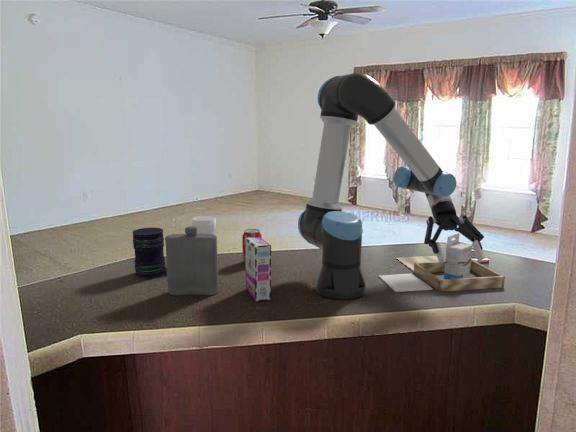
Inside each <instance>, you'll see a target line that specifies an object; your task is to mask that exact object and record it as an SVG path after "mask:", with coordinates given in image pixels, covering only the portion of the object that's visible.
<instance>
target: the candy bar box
mask: <svg viewBox="0 0 576 432" xmlns="http://www.w3.org/2000/svg"><path fill="white" fill-rule="evenodd" d="M245 257H246V263H245V290H246V291H247V292H248V294H249V295H250V296H251V298H252V299H253V300H254V302H265V301H270V300H272V245H271V244H270V243H268V242H267V241H266V240H265V239H263V237H262V238H261V237H251V238H245Z"/></svg>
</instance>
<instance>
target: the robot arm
mask: <svg viewBox="0 0 576 432" xmlns="http://www.w3.org/2000/svg"><path fill="white" fill-rule="evenodd" d="M317 104H318V106H319V108H320V115H319V116H320V117H319V118H320V120H321V121H322V122H323V128H322V134H321V135H322V136H321V142H320V147H319V154H318V161H317V165H316V173H315V179H314V186H313V192H312V197H311V199H309V200H308V201H307V202H306V205H305V209H304V210H303V211H302V212H301V214H300V215H299V217H298V220H297V221H298V222H297V228H298V232H299V234H300V235H301V237H302V239H304V240H305V242H307V243H308V244H310V245H311V246H312V245H313V246H314V247H317V248H318V249H321V266H320V269H319V272H318V276H317V278H316V280H315V292H316V293H317V294H318V295H320V296H322V297H325V298H328V299H331V300H332V299H333V300H354V299H359V298H362V297H363V296H364V295H365V294H366V291H367V284H366V281H365V277H364V274H363V271H362V265H361V264H362V246H363V245H362V243H363V241H362V240H363V233H364V232H363V231H364V230H363V229H364V228H363V221H362V219H361V217H359V216H358V215H357V214H354V213H352V212H346V211H344V210H343V207H342V206H341V204H340V203H339V201H340V195H341V189H342V183H343V178H344V172H345V171H344V170H345V165H346V160H347V154H348V148H349V142H350V137H351V136H350V135H351V130H352V127H353V126H355V125H356V124H357V123H358V117H359V116H360V117H361V118H363V119H364V120H365V121H366V123H367V124H368V125H372V126H373V125H374V127H375V128H376V129H377V130H378V132H379V133H380V134H381V135H382V136H383V138H384V139H385V140H386V141H387V143H388V144H389V145H390V146H391V148H392V149H393V150H394V151H395V153H396V154H397V156H399V157H400V159H401V160H402V161H403V162H404V164H405V165H406V166H405V165H402V166H399V167H397V169H396V170H395V172H394V173H393V174H394V175H393V184H394V185H395V186H396V187H398V188H401V189H402V190H403V189H404V190H409V191H414V192H420V193H424V194H425V197H426V200H427V202H428V205H429V208H430V211H431V214H432V216H428V218H427V220H426V226H427V227H426V231H425V236H424V241H423V243H424V244H425V245H428V246H429V247H430V248H432V249H431V250H432V252H433V254H435V256H437V258H438V261H439V264H442V263H443V262H444V261H445V258H444V255H445V254H444V252H443V249H442V247H441V244H440V241H438V239H439V237H440V235H441V233H442V232H443V231H446V232H447V231H455V232H458V233H459V234H461V235H462V236H464V237H465V238H466V239H467V240H469V241H470V242H471V245H472V250H473V252H474V255H475V256H476V260H477V262H478V263H481V261H483V260H484V259H485V258H486V257H485V254H484V252H483V249H484V248H483V246H482V243H481V242H482V240H483V239H484V238H485V236H484V235H483V234H482V232H481V231H480V230H479V229H477V227H476V226H475V225H474V224H473V223H472V222H471V221H470V220H469V219H468V217H467V215H466V214H465V215H462V216H460V217H459V216H458V215H457V209H456V208H455V205H454V202H453V198H452V197H451V195H452V194H453V193H454V192H455V191H456V188H457V179H456V177H455V176H454V174H451V173H449V172H447V171H446V172H445V171H443V170H442V168H441V166H439V164H438V162H436V160H435V159H434V158H433V156H432V155H431V154H430V153H429V151H428V150H427V148H426V147H425V146H424V144H423V143H422V142H421V140H420V139H419V138H418V136H417V135H416V134H415V132H414V131H413V130H412V129H411V128H410V126H409V124H407V122H406V121H405V119H404V118H403V116H401V114H400V113H399V111H398V110H397V109H396V101H395V100H394V99H393V97H392V96H391V95H390V94H389V92H388V91H387V90H386V88H384V87H383V85H381V84H380V83H379V81H377V80H375V78H373V77H372V76H370V75H368V74H366V73H363V72H352V73H348V74H344V75H336V76H333V77H331V78H329V79H326V80H325V81H324V82H323V83H322V85H321V86H320V87H319V90H318V93H317ZM434 224H436V225H437V226H438V227H437V229H436V231H435V233H434V235H433V237H432V234H433V228H434Z"/></svg>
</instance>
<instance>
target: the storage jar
mask: <svg viewBox="0 0 576 432" xmlns="http://www.w3.org/2000/svg"><path fill="white" fill-rule="evenodd" d="M164 241H165V238H164V229H163V228H160V227H144V228H143V227H142V228H138V229H134V230H133V231H132V245H133V246H132V247H133V249H134V271H135V277H136V278H138V279H142V280H147V279H148V280H150V279H157V278H160V277H163V276H165V274H166V256H165V255H164V254H165V251H164V247H165V242H164Z"/></svg>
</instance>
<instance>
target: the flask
mask: <svg viewBox="0 0 576 432" xmlns="http://www.w3.org/2000/svg"><path fill="white" fill-rule="evenodd" d="M184 232H185V233H173V234H168V235H166V236H165V238H164V241H165V242H164V245H165V263H166V273H167V275H166V277H167V293H168V294H169V295H170V296H185V295H187V296H188V295H195V296H196V295H197V296H199V295H200V296H214V295H217V294H218V293H219V268H218V261H217V259H218V239H217V235H216V234H214V235H213V234H198V233H197V228H196V227H194V226H192V225H190V226H186V227H185V228H184Z"/></svg>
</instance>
